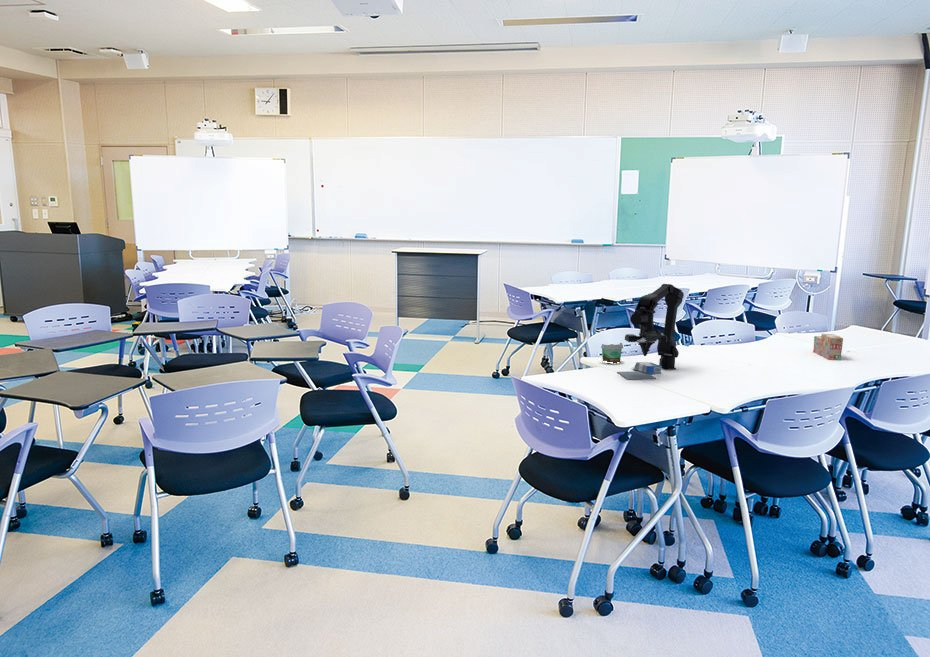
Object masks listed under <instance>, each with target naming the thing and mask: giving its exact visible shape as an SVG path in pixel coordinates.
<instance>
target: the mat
mask: <svg viewBox="0 0 930 657" xmlns="http://www.w3.org/2000/svg"><path fill="white" fill-rule="evenodd" d="M616 373H617V374H618V375H619V374H620V376H621V377H622V378H623V379H625V380H627V381H633V380H635V381H636V380H640V381H641V380H657V377H656V376H653V374H651V373H644V372H641V371H639V370H636V371H635V370H633V371H631V370H630V371H627V370H626V371H616Z"/></svg>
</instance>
